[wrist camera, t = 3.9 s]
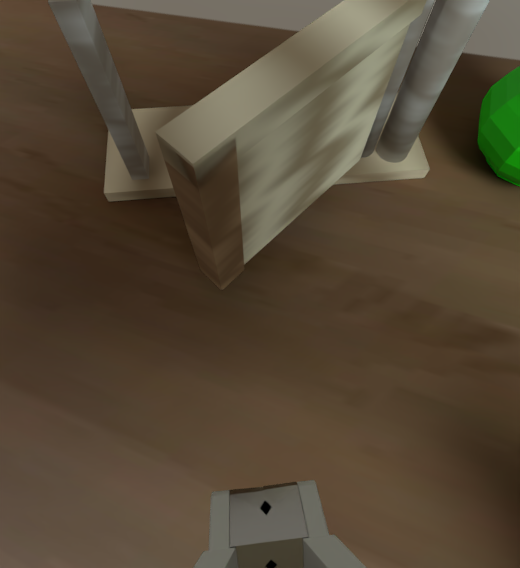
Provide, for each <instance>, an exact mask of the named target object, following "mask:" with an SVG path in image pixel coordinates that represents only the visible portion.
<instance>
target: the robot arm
mask: <svg viewBox="0 0 520 568" xmlns="http://www.w3.org/2000/svg"><path fill="white" fill-rule="evenodd" d="M194 568H366V567H365V566H364V565H363V564H362V563H361V562H360V561H359V559H358V558H357V557H356V556H355V555H354V554H353V553H352V552H351V551H350V550H349V549H348V548H347V547H346V546H345V545H344V544H343V543H342V542H341V541H340V540H339V539H338V538H337V537H336V536H335V535H329V532H328V528H327V524H326V521H325V517H324V513H323V509H322V505H321V501H320V497H319V494H318V490H317V486H316V483H315V481H314V480H310V481H301V482H290V483H283V484H276V485H268V486H263V487H257V488H246V489H235V490H225V491H216V492H212V495H211V507H210V531H209V551H203V553H202V554H201V556H200V558H199V559H198V561H197V563H196V564H195V566H194Z"/></svg>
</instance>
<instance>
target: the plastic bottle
mask: <svg viewBox="0 0 520 568" xmlns="http://www.w3.org/2000/svg"><path fill="white" fill-rule="evenodd" d="M477 142H478V145H479V149H480V150H481V151H482V153H483V154H484V156H485V157H486V161H487V163H488V164H489V165H490V167H491V168H492V169H493V171H494V172H495V173H496V175H497V176H498V177H500V178H502V179H504V180H506V181H508V182H510V183H512V184H514V185H517V186H520V66H519V67H517V68H516V69H514V70H513V71H511V72H510V73H508V74H507V75H506V76H504V77H503V78H502V79H500V80H499V81H498V82H496V83H495V84H494V85H493V86H491V88H490V89H489V91H488V92H487V94H486V95H485V97H484V98H483V100H482V105H481V110H480V117H479V129H478V141H477Z"/></svg>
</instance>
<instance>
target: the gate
mask: <svg viewBox="0 0 520 568" xmlns="http://www.w3.org/2000/svg"><path fill="white" fill-rule="evenodd" d="M434 1H435V0H344V1H342V2H341V3H340V4H338V5H336V6H335V7H334V8H332V9H331V10H329V11H328V12H327V13H325V14H323V15H322V16H321V17H319V18H318V19H316V20H315V21H314V22H312V23H311V24H309V25H308V26H306V27H305V28H303V29H302V30H301V31H299V32H298V33H296V34H295V35H293V36H292V37H291V38H289V39H288V40H286V41H285V42H283V43H282V44H280V45H279V46H278V47H276V48H275V49H273V50H272V51H270V52H269V53H268V54H266V55H265V56H263V57H262V58H260V59H259V60H258V61H256V62H255V63H253V64H252V65H250V66H249V67H248V68H246V69H245V70H243V71H242V72H240V73H239V74H237V75H236V76H235V77H233V78H232V79H230V80H229V81H227V82H226V83H225V84H223V85H222V86H220V87H219V88H217V89H216V90H215V91H213V92H212V93H210V94H209V95H207V96H206V97H204V98H203V99H202V100H200V101H199V102H197V103H196V104H194V105H193V106H192V107H190V108H189V109H187V110H186V111H184V112H183V113H182V114H180V115H179V116H177V117H176V118H174V119H173V120H172V121H170V122H169V123H167V124H166V125H164V126H163V127H161V128H160V129H159V130H157V131H156V132H155V133H156V136H157V139H158V142H159V145H160V149H161V152H162V155H163V158H164V161H165V164H166V167H167V170H168V173H169V176H170V179H171V182H172V185H173V188H174V191H175V194H176V198H177V201H178V204H179V207H180V210H181V213H182V216H183V219H184V222H185V225H186V228H187V231H188V234H189V237H190V240H191V243H192V247H193V250H194V253H195V256H196V259H197V262H198V265H199V268H200V270H201V271H202V272H203V273H204V274H205V275H206V276H207V277H208V278H209V279H210V280H211V281H212V282H213V283H214V284H215V285H216V286H217V287H219V288H220V289H221V290H223V289H224V288H225V287H226V286H227V285H228V284H230V283H231V282H232V281H233V280H234V279H235V278H236V277H237V276H238V275H239V274H241V273H242V272H243V271H244V264H246V263H247V262H248V261H249V260H250V259H251V258H252V257H253V256H254V255H256V254H257V253H258V252H259V251H260V250H261V249H262V248H263V247H264V246H265V245H267V244H268V243H269V242H270V241H271V240H272V239H273V238H274V237H275V236H277V235H278V234H279V233H280V232H281V231H282V230H283V229H284V228H285V227H286V226H288V225H289V224H290V223H291V222H292V221H293V220H294V219H295V218H296V217H298V216H299V215H300V214H301V213H302V212H303V211H304V210H305V209H306V208H307V207H309V206H310V205H311V204H312V203H313V202H314V201H315V200H316V199H317V198H319V197H320V196H321V195H322V194H323V193H324V192H325V191H326V190H327V189H328V188H330V187H331V186H332V185H333V184H334V183H335V182H336V181H337V180H338V179H339V178H341V177H342V176H343V175H344V174H345V173H346V172H347V171H348V170H349V169H351V168H352V167H353V166H354V165H355V164H356V163H357V162H358V161H359V160H360V158H364V157H368V156H370V155H371V154H372V153H373V151H374V149H375V146H376V144H377V141H378V139H379V136H380V134H381V132H382V129H383V127H384V124H385V122H386V119H387V117H388V114H389V112H390V109H391V107H392V105H393V102H394V100H395V97H396V95H397V92H398V90H399V87H400V85H401V82H402V80H403V77H404V75H405V73H406V70H407V68H408V65H409V63H410V60H411V58H412V55H413V53H414V50H415V48H416V45H417V43H418V41H419V38H420V36H421V33H422V30H423V28H424V26H425V23H426V21H427V18H428V16H429V13H430V11H431V9H432V6H433V4H434Z"/></svg>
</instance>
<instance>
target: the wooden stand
mask: <svg viewBox="0 0 520 568" xmlns="http://www.w3.org/2000/svg"><path fill="white" fill-rule="evenodd" d="M489 1H490V0H436V2H435V5H434V7H433V10H432V12H431V14H430V17H429V20H428V22H427V24H426V27H425V29H424V32H423V34H422V37H421V39H420V41H419V44H418V46H417V49H416V51H415V54H414V56H413V58H412V61H411V63H410V66H409V68H408V71H407V73H406V75H405V78H404V80H403V83H402V85H401V88H400V90H399V92H397V95H396V97H395V100H394V102H393V105H392V107H391V109H390V112H389V114H388V117H387V119H386V122H385V124H384V127H383V129H382V132H381V134H380V136H379V139H378V141H377V144H376V146H375V149H374V151H373V153H372V154H371V155H370V156H368V157H364V158H360V160H359V161H358V162H357V163H356V164H355V165H354V166H353V167H352V168H351V169H349V170H348V171H347V172H346V173H345V174H344V175H343V176H342V177H341V178H339V179H338V180H337V181H336V182H335V183H334V184H347V183H360V182H373V181H386V180H399V179H412V178H424V177H425V175H426V174H427V172H428V171H429V169H430V168H429V166H428V163H427V160H426V157H425V154H424V151H423V148H422V145H421V142H420V139H419V136H418V134H419V132H420V131H421V129H422V127H423V125H424V123H425V121H426V119H427V117H428V116H429V114H430V112H431V110H432V108H433V106H434V104H435V102H436V100H437V99H438V97H439V95H440V93H441V91H442V89H443V87H444V85H445V84H446V82H447V80H448V78H449V76H450V74H451V72H452V70H453V68H454V67H455V65H456V63H457V61H458V59H459V57H460V55H461V53H462V52H463V50H464V48H465V46H466V44H467V42H468V40H469V38H470V36H471V34H472V33H473V31H474V29H475V27H476V25H477V23H478V21H479V19H480V18H481V16H482V14H483V12H484V10H485V8H486V6H487V4H488V3H489ZM48 3H49V5H50V7H51V9H52V11H53V13H54V16H55V18H56V20H57V22H58V24H59V26H60V28H61V30H62V32H63V35H64V37H65V39H66V41H67V43H68V45H69V47H70V49H71V51H72V54H73V56H74V58H75V60H76V62H77V64H78V66H79V68H80V70H81V73H82V75H83V77H84V79H85V81H86V83H87V85H88V87H89V89H90V92H91V94H92V96H93V98H94V100H95V102H96V104H97V106H98V108H99V111H100V113H101V115H102V117H103V119H104V121H105V123H106V125H107V127H108V142H107V156H106V169H105V183H104V195H105V196H106V198H107V200H108V201H109V202H110V201H123V200H136V199H149V198H163V197H176V194H175V191H174V188H173V185H172V182H171V179H170V176H169V173H168V170H167V167H166V164H165V161H164V158H163V155H162V152H161V149H160V145H159V142H158V139H157V136H156V133H155V132H156V131H157V130H159V129H160V128H161V127H163V126H164V125H166V124H167V123H169V122H170V121H172V120H173V119H174V118H176V117H177V116H179V115H180V114H182V113H183V112H184V111H186V110H187V109H189V108H190V107H192V106H193V105H190V106H175V107H159V108H144V109H131V107H130V104H129V102H128V99H127V96H126V94H125V91H124V88H123V86H122V83H121V80H120V78H119V75H118V72H117V70H116V67H115V64H114V62H113V59H112V56H111V54H110V51H109V48H108V46H107V43H106V40H105V38H104V35H103V32H102V30H101V27H100V24H99V22H98V19H97V16H96V14H95V11H94V8H93V6H92V3H91V1H90V0H48ZM334 184H333V185H334Z"/></svg>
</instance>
